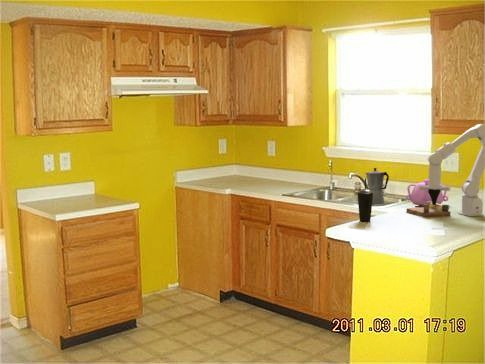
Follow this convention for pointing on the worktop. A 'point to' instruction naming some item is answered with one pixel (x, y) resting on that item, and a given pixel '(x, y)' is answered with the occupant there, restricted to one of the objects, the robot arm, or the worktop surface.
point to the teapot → (423, 194)
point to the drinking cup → (365, 204)
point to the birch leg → (438, 206)
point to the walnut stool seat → (427, 211)
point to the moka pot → (377, 185)
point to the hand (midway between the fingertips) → (434, 204)
